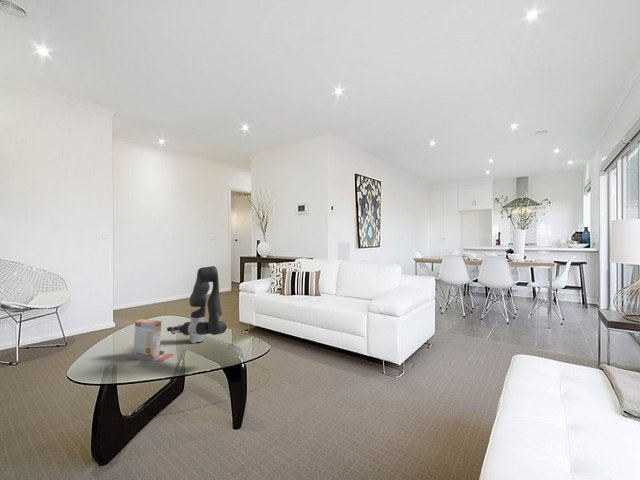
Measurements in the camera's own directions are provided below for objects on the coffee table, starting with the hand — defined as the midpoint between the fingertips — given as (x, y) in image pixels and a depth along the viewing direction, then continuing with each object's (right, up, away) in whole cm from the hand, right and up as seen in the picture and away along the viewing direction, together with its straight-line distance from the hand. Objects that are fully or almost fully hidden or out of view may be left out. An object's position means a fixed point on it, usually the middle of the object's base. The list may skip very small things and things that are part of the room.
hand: (168, 329), depth 178 cm
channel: (-13, -16, 0) cm, 20 cm away
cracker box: (-13, -16, 0) cm, 21 cm away
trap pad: (-1, -17, -1) cm, 17 cm away
